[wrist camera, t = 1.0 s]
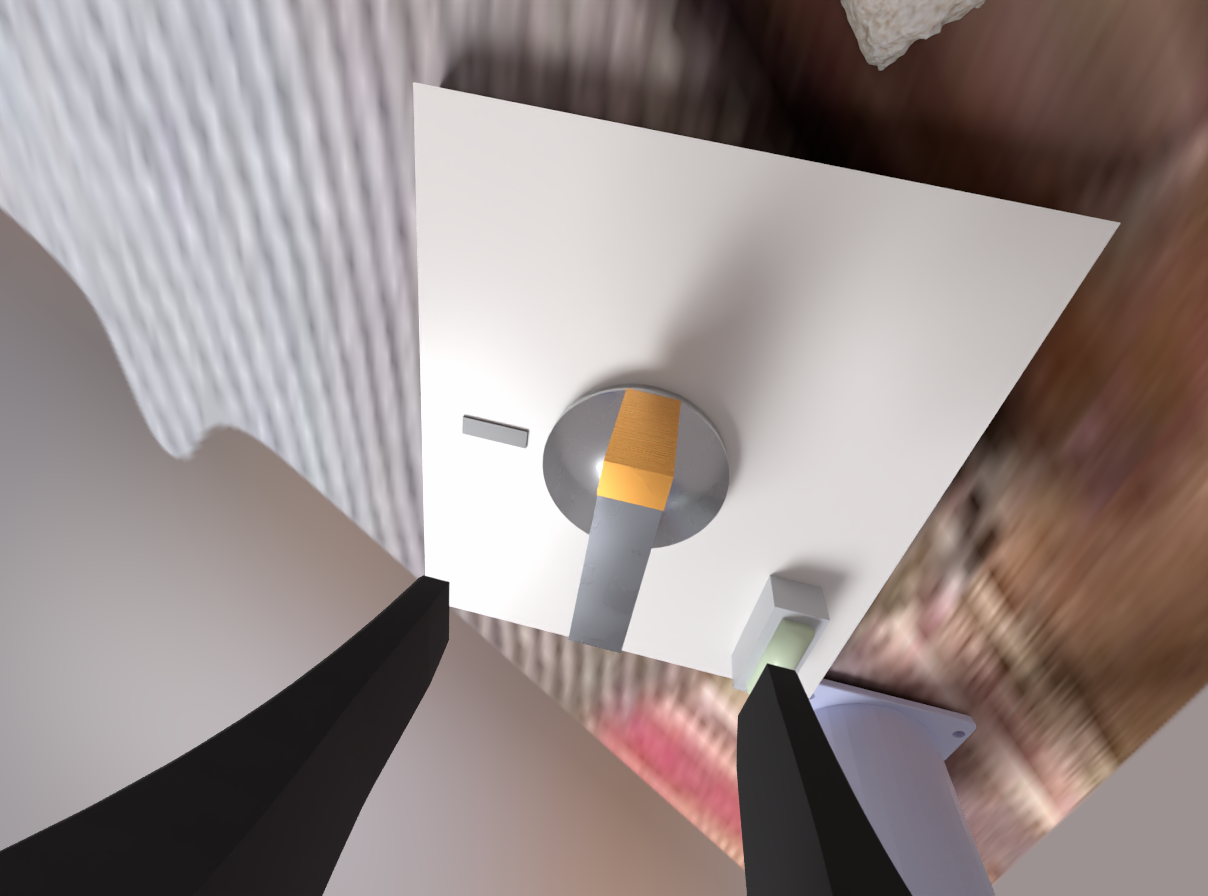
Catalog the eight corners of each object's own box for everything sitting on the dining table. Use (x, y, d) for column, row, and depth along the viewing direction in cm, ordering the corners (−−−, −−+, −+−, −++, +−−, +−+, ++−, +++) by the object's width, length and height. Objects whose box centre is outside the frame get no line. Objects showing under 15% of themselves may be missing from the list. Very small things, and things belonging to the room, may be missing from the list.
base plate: (804, 669, 24) (819, 752, 21) (440, 577, 25) (400, 642, 22) (1082, 215, 14) (1201, 238, 10) (438, 87, 15) (361, 71, 11)
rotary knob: (700, 555, 20) (698, 679, 15) (538, 515, 20) (489, 625, 15) (757, 400, 16) (777, 501, 12) (559, 355, 16) (503, 436, 12)
